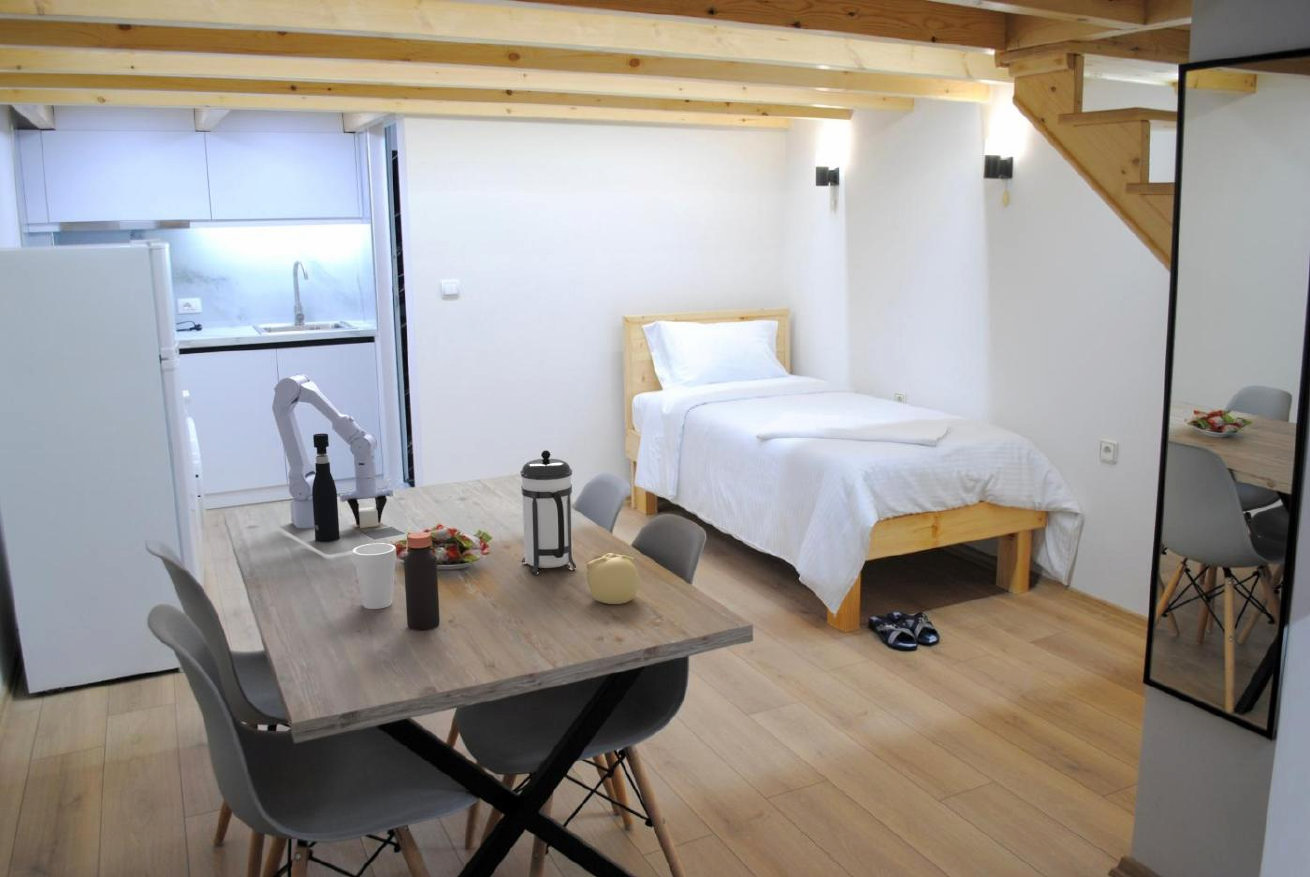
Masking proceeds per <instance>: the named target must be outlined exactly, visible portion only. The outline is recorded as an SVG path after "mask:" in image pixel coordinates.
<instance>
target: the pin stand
mask: <svg viewBox="0 0 1310 877" xmlns="http://www.w3.org/2000/svg"><path fill="white" fill-rule="evenodd" d="M349 526H350V527H351V528H354V529H356V530H359V531H360V532H365V531H370V530H376V529H381V528H387V525H386V524H384V523H382V522H381V523H378V526H375V527H365V528H360V526H359V525H357V524H356V523H354V524H349Z"/></svg>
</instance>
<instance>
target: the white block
mask: <svg viewBox="0 0 1310 877" xmlns="http://www.w3.org/2000/svg"><path fill="white" fill-rule="evenodd" d="M359 520H360V525H359V526H360V528H365V527H375V526H378V511H377V509H376V506H372V507H359Z"/></svg>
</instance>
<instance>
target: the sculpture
mask: <svg viewBox="0 0 1310 877" xmlns="http://www.w3.org/2000/svg"><path fill="white" fill-rule="evenodd" d="M634 561H635V558H634V557H632V556H628V555H625V554H623V555H621V554H616V553H613V552H607V553H605V554H603V555H602V556H600V557H598V558H596V559H593V560H591V561H589V562H587V564H586V570H587V571H586V577H587V579H586V580H587V585H588V587H589V592H590V593H591V595H592V597H593V599H594V600H596V601H597V602H599V603H603V604H609V605H623V604H626V603H629V602H631V601H632V600H633V599H634V598H636V596H637V594H638V592H639V589H640V575H639V572H638V569H637V568H636V566H635V565H634ZM628 601H629V602H628ZM622 603H623V604H622Z"/></svg>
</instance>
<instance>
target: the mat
mask: <svg viewBox="0 0 1310 877" xmlns="http://www.w3.org/2000/svg"><path fill="white" fill-rule="evenodd" d="M360 532H361V534H364V535H366V536H368V537H369V538H372V539H373V540H378V539H382V538H383V539H384V538H388V537H389V538H390V537H393V536H394V537H395V536H399V535H405V534H406V533H405V532H404V531H401V530H399V529H397V528H395V527H394V526H393V527H392V526H389V527H388V526H387V527H381V528H376V529H370V530H365V531H360Z"/></svg>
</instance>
